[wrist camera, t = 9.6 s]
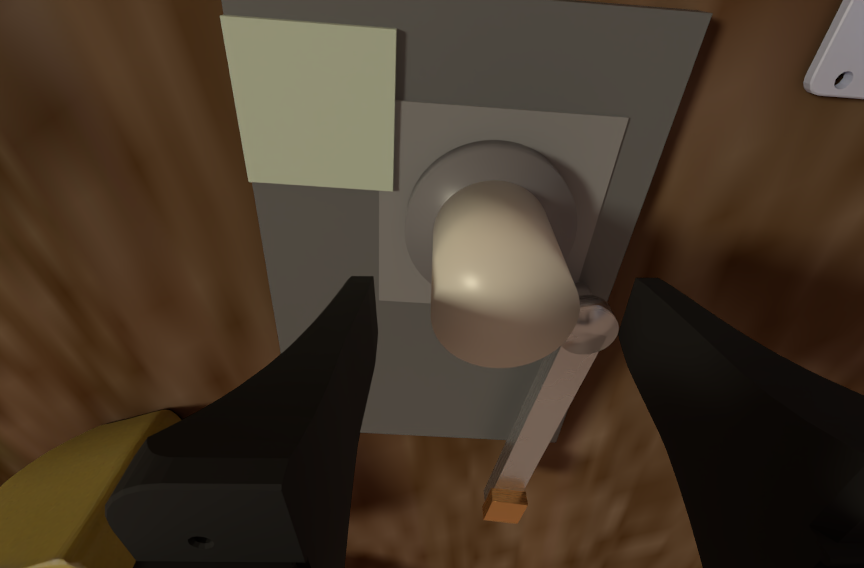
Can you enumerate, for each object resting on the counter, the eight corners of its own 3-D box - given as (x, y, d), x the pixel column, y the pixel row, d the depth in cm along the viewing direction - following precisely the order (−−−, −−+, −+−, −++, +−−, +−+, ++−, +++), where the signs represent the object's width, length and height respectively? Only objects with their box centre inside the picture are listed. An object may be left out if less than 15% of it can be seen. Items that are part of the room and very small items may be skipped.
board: (698, 10, 14) (736, 18, 12) (552, 428, 25) (561, 464, 24) (228, -29, 13) (196, -26, 12) (297, 415, 25) (287, 450, 23)
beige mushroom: (587, 142, 15) (648, 219, 11) (554, 289, 19) (591, 394, 14) (405, 137, 15) (390, 212, 11) (407, 285, 19) (396, 388, 14)
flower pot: (181, 373, 23) (63, 565, 16) (269, 469, 28) (209, 650, 21) (44, 409, 25) (-119, 596, 18) (150, 493, 30) (56, 668, 22)
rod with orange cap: (564, 290, 17) (575, 318, 16) (620, 299, 17) (635, 327, 16) (477, 490, 25) (479, 519, 24) (516, 494, 25) (521, 523, 24)
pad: (396, 28, 13) (396, 29, 13) (393, 188, 16) (392, 191, 16) (223, 14, 13) (220, 15, 13) (251, 178, 16) (248, 181, 16)
